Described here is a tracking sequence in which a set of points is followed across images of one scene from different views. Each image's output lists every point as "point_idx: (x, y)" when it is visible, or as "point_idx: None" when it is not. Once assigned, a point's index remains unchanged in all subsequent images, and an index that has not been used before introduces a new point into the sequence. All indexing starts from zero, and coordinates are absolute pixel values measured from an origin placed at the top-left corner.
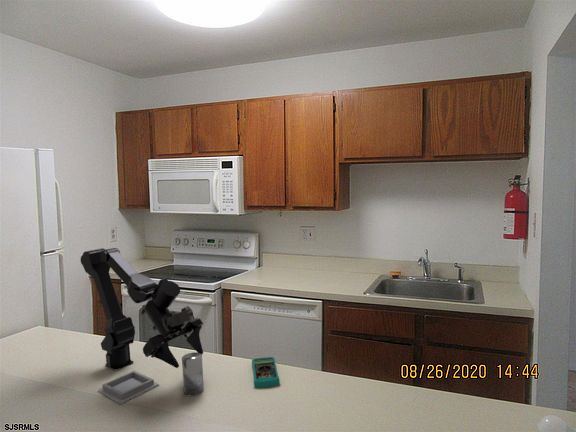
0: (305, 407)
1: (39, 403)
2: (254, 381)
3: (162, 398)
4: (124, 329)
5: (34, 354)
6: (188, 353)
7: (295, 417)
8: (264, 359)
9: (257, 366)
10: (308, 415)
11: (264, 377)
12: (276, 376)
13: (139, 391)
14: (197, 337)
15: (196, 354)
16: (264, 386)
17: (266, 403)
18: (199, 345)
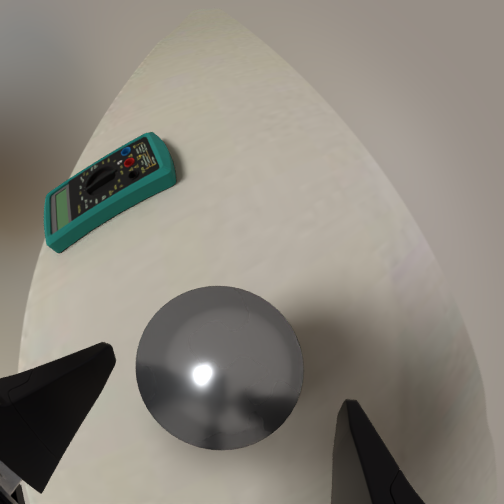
0: (239, 83)
1: None
2: (169, 171)
3: None
4: None
5: None
6: (166, 429)
7: (277, 84)
8: (50, 212)
9: (86, 204)
10: (262, 75)
11: (148, 156)
12: (143, 136)
13: None
14: (9, 390)
15: (165, 352)
16: (172, 160)
17: (248, 130)
18: (67, 367)
